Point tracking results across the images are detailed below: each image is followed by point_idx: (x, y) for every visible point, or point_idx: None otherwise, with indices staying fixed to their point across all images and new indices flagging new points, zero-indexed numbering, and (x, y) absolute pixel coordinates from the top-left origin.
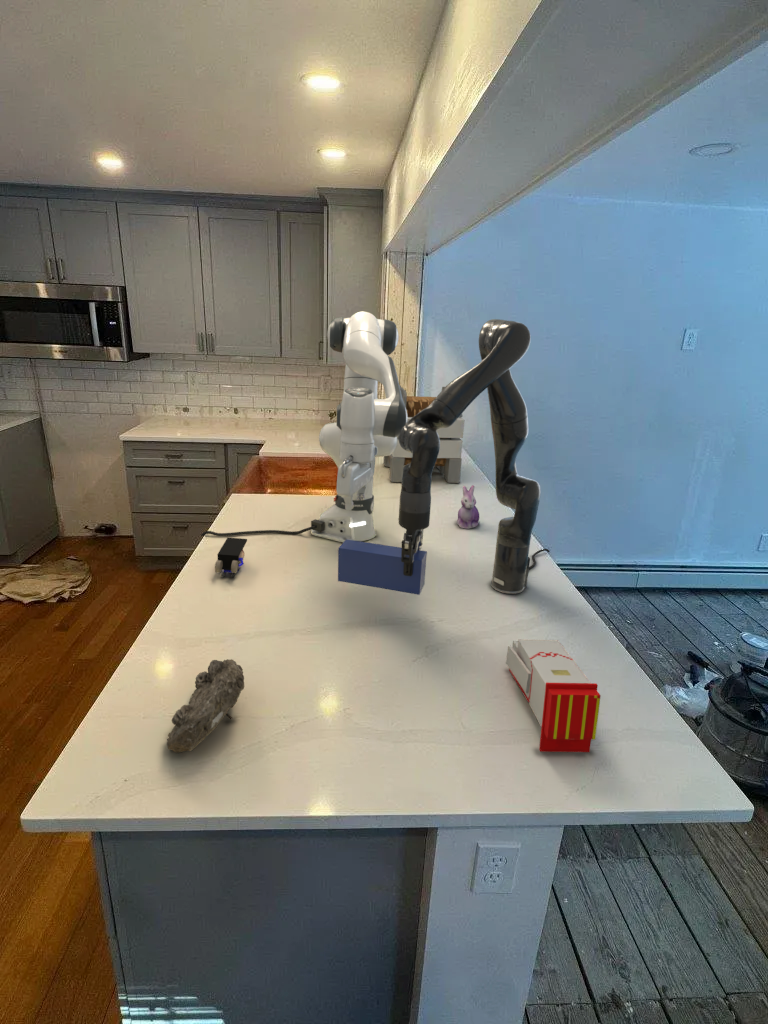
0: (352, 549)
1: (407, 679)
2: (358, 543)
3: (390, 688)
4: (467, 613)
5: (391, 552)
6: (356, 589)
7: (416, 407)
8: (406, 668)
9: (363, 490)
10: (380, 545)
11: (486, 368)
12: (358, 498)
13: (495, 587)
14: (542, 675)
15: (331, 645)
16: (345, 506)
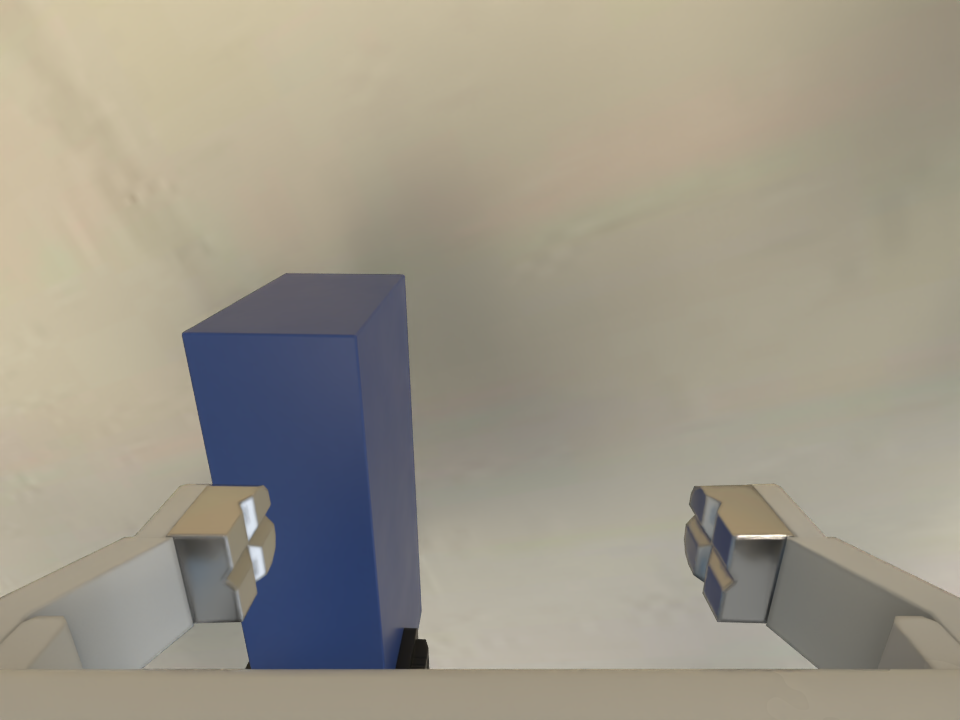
0: (208, 429)
1: (84, 546)
2: (322, 437)
3: (24, 518)
4: (486, 637)
5: (289, 633)
6: (527, 264)
7: None
8: (126, 536)
9: (820, 645)
10: (356, 564)
11: None
12: (698, 512)
13: None
14: None
15: (102, 310)
16: (164, 506)
